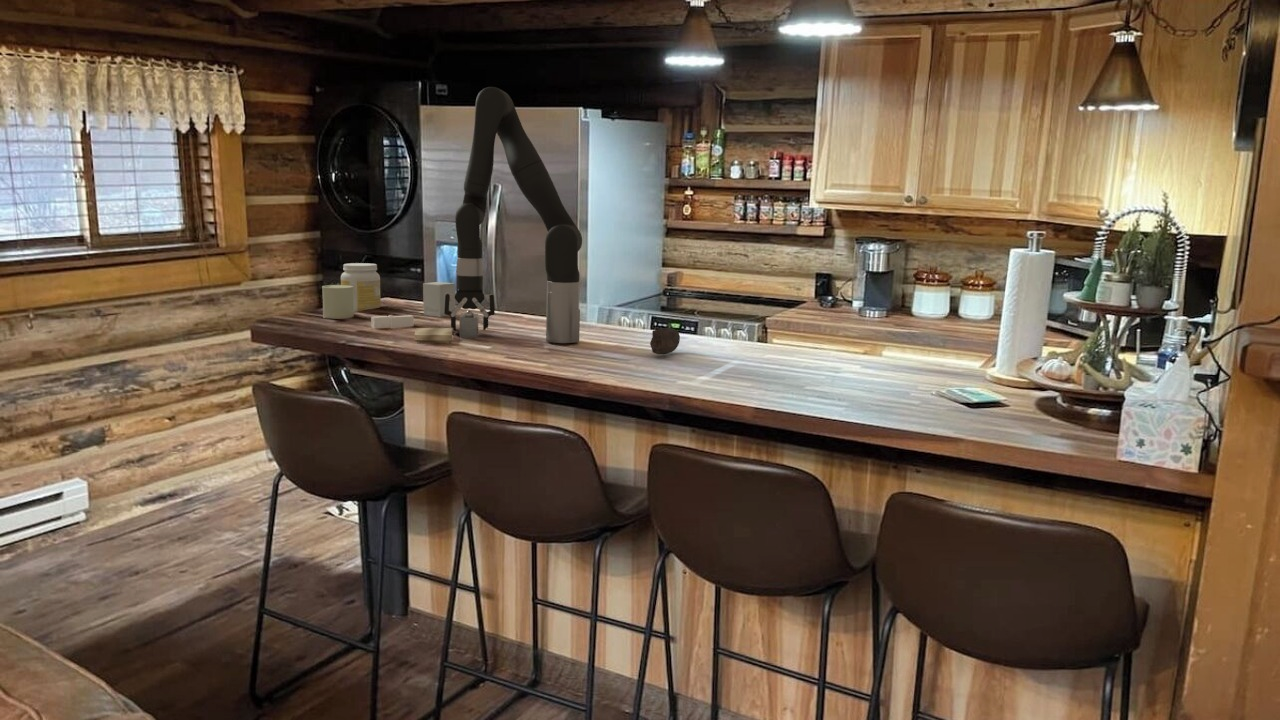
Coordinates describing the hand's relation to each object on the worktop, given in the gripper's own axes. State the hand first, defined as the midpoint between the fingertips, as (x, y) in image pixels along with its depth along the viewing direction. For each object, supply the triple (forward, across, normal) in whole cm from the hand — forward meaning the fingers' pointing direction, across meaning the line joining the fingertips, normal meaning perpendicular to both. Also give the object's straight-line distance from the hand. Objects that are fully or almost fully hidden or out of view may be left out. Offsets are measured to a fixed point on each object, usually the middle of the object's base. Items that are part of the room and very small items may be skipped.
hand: (469, 329), depth 276 cm
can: (+2, +39, -22) cm, 45 cm away
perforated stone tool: (+2, -52, +29) cm, 60 cm away
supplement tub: (+2, +34, -40) cm, 52 cm away
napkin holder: (+3, +22, -5) cm, 23 cm away
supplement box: (+2, +9, -26) cm, 27 cm away
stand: (+2, +10, +9) cm, 14 cm away
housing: (+2, 0, 0) cm, 2 cm away
